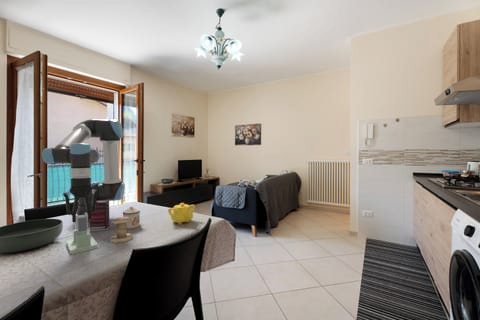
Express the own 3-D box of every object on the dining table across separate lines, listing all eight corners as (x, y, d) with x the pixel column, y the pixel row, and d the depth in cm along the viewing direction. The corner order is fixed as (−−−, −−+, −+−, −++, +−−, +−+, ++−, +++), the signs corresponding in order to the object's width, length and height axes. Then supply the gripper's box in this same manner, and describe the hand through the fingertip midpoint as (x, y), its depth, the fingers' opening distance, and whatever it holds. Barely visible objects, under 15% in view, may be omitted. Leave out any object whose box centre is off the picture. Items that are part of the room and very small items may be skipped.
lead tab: (76, 228, 103) (76, 215, 103) (84, 227, 106) (84, 214, 105) (78, 231, 99) (78, 218, 99) (86, 230, 101) (86, 217, 101)
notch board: (66, 244, 105) (66, 230, 104) (91, 238, 112) (91, 225, 111) (70, 254, 94) (70, 239, 94) (97, 247, 101) (97, 233, 101)
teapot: (166, 225, 133) (166, 206, 132) (174, 218, 147) (174, 200, 147) (190, 226, 132) (189, 206, 132) (195, 219, 146) (195, 201, 146)
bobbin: (107, 238, 112) (107, 218, 112) (129, 233, 119) (129, 215, 118) (113, 244, 105) (113, 223, 104) (135, 239, 112) (135, 219, 111)
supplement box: (110, 227, 128) (109, 200, 128) (106, 230, 123) (105, 202, 123) (93, 228, 127) (93, 200, 126) (89, 231, 122) (88, 202, 122)
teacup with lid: (134, 229, 126) (134, 208, 126) (119, 228, 127) (119, 208, 126) (145, 222, 138) (145, 203, 138) (131, 222, 139) (131, 203, 138)
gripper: (59, 179, 94) (60, 234, 94) (103, 176, 105) (103, 226, 105) (57, 177, 99) (58, 230, 100) (99, 175, 110) (100, 222, 111)
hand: (81, 228), depth 103 cm, fingers closed on lead tab, 3 cm apart
